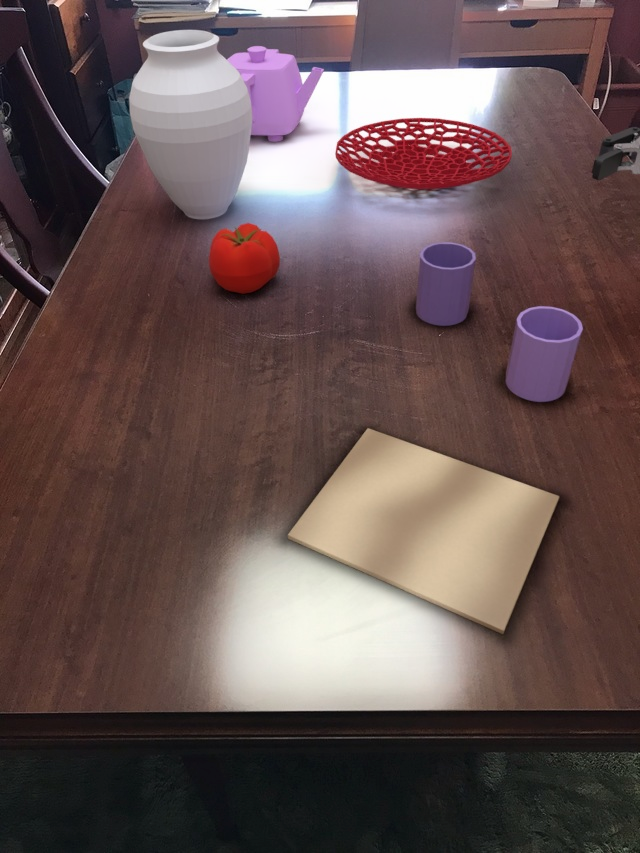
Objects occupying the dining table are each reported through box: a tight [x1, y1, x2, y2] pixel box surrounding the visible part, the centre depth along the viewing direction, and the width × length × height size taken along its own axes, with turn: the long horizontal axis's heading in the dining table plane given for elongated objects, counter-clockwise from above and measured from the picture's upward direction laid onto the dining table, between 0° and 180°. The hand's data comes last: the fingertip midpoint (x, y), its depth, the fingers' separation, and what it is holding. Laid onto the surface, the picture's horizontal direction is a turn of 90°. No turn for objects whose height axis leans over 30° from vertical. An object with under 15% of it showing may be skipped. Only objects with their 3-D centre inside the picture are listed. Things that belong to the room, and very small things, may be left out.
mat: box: [287, 427, 560, 635], centre depth 63 cm, size 20×16×1 cm
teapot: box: [226, 45, 325, 143], centre depth 132 cm, size 19×18×15 cm
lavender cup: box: [504, 305, 584, 403], centre depth 75 cm, size 7×7×8 cm
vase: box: [128, 29, 252, 220], centre depth 103 cm, size 18×18×25 cm
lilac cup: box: [415, 241, 477, 327], centre depth 86 cm, size 7×7×8 cm
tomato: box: [208, 222, 281, 295], centre depth 92 cm, size 9×9×8 cm
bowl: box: [334, 117, 513, 190], centre depth 117 cm, size 29×30×5 cm
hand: (634, 182), depth 68 cm, fingers open, 8 cm apart
